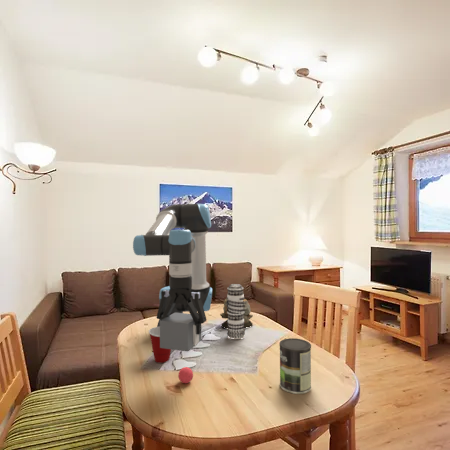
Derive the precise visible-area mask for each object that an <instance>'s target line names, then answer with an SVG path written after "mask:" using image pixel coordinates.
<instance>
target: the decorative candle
mask: <svg viewBox="0 0 450 450" xmlns="http://www.w3.org/2000/svg"><path fill="white" fill-rule="evenodd" d="M226 289H227V294H226V295H227V297H225V298H226V300H227V301H226V303H227V304H228V305H227V313H228V322H227V324H228V325H227V327H228V329H226V331H227V333H226V334H227V336H229V337H230V338H234V339H241V338H243V339H245V338H244V337H245V335H246V333H245V331H246V328H245V329H244V327H245V326H244V324H245V322H244V315H243V314H244V313H245V312H244V311H245V309H243V307H245V305H243V304H244V303H245V302H244V301H243V300H244V299H246V298H245V296H244V295H245V293H244V287H243V286H242V285H241V284H239V283H232V284H229V285H228V287H227V288H226ZM241 340H242V339H241Z"/></svg>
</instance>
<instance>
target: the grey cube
mask: <svg viewBox="0 0 450 450" xmlns="http://www.w3.org/2000/svg"><path fill="white" fill-rule="evenodd" d="M194 324H195V322H194V320H193V318H192V316H191V314H190V313H185V312H183V313H173V314H171V315H169V316H168V317H166V318H164V319H162V320H160V348H165V349H171V351H172V350H173V351H181V352H186V353H187V352H188V353H189V352H190V351H191V350H192V349H193V348H194V347H196V346H197V345H198V344H196V345H193V325H194ZM201 341H202V332H201V333H200V334H199V343H200V342H201Z"/></svg>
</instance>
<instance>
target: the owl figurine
mask: <svg viewBox="0 0 450 450" xmlns="http://www.w3.org/2000/svg"><path fill="white" fill-rule="evenodd" d="M226 301H227V300H226V299H224V301H223V307H222V308H223V312H222V313H219V315H220V317H221V318H222V319H227V320H225V321H223V322H222V323H221V327H222V326H223V327H225V328H228V327H227V325H228V324H227V322H228V313H227V305H228V304H227V303H226ZM243 301H244V302H245V303H244V304H243V305H245V307H243V309H245V311H244V312H245V313H244V314H243V315H244V322H245V324H244V326H245V327H244V328H245V329H247V328H246V327H249V328H251V327H252V326H253V322H252V321H251V318H253V316H254V315H253V314H251V306H250V303H249V301H248V300H247V299H246V298H245V299H244V300H243ZM250 326H251V327H250ZM223 327H222V328H223ZM225 328H224V329H225Z"/></svg>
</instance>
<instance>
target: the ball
mask: <svg viewBox="0 0 450 450" xmlns="http://www.w3.org/2000/svg"><path fill="white" fill-rule="evenodd" d="M193 377H194V372H193V370H192V369H191V367H187V366H184V367H182V368H181V369H180V370H179V372H178V379H179V382H181V383H182V384H188V383H190V382H192V380H193Z"/></svg>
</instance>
